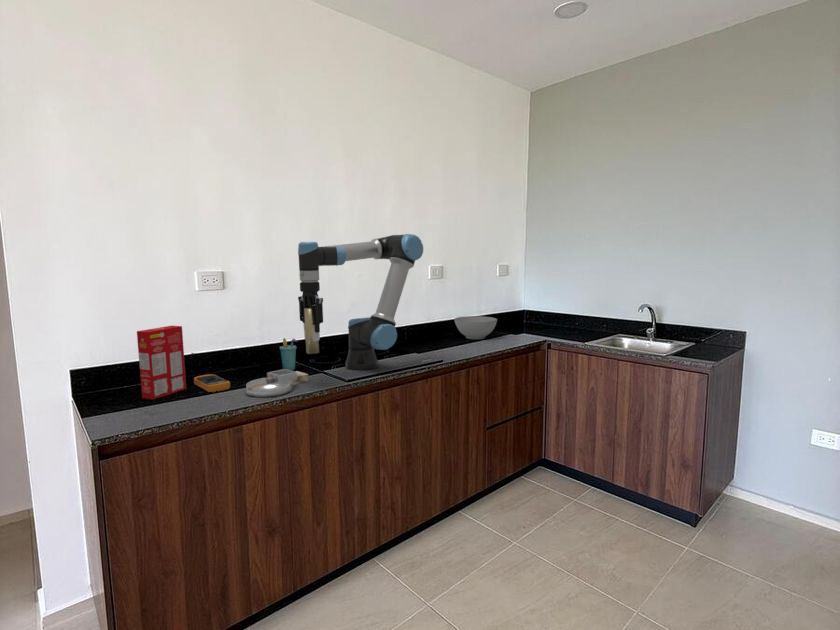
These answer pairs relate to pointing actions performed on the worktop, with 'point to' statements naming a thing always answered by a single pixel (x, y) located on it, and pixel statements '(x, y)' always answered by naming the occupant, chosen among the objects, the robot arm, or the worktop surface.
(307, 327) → the tan cylinder
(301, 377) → the key block
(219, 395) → the worktop surface
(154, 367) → the food packaging
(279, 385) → the grey flat rounded piece
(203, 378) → the multimeter
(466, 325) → the decorative bowl
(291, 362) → the cup
